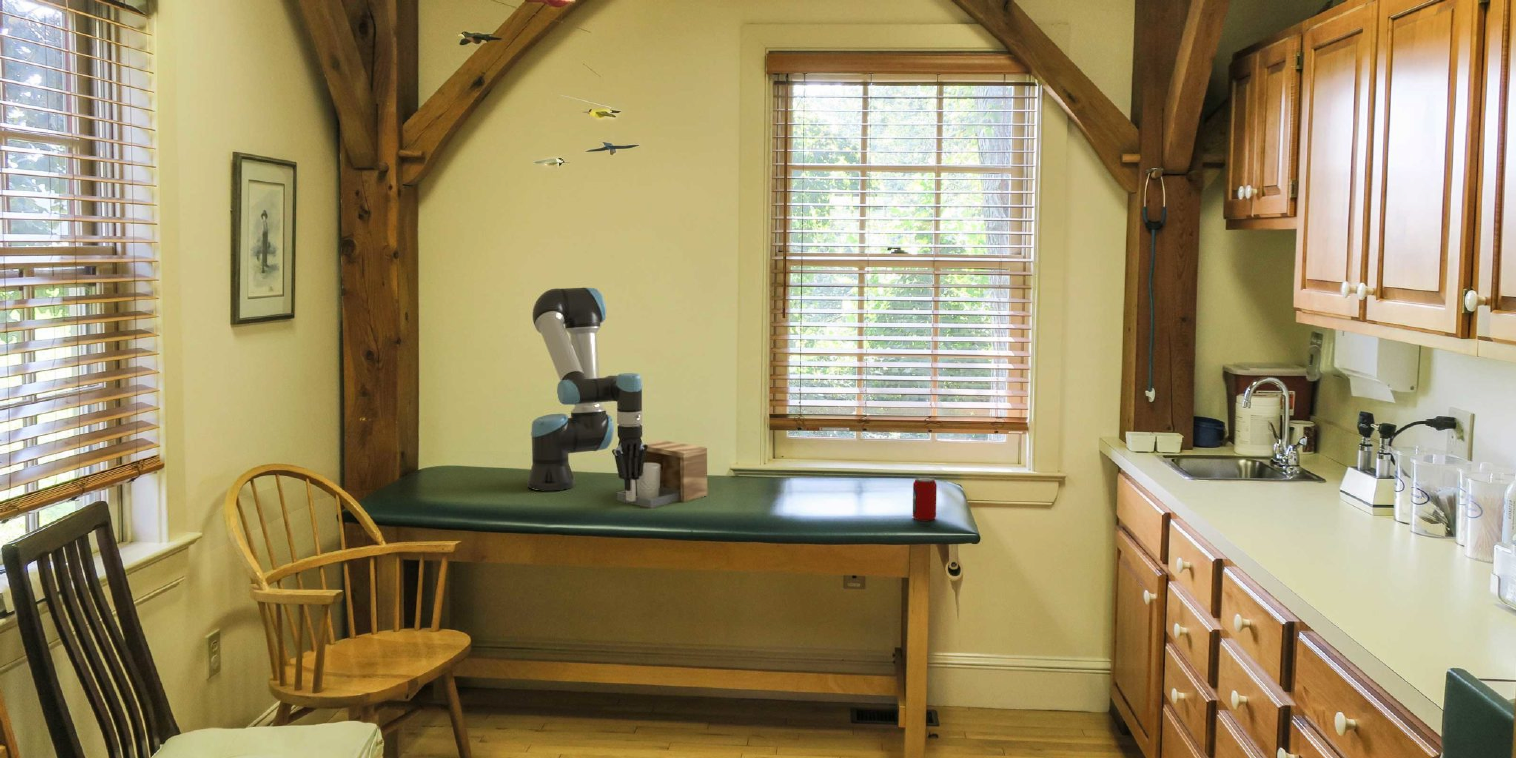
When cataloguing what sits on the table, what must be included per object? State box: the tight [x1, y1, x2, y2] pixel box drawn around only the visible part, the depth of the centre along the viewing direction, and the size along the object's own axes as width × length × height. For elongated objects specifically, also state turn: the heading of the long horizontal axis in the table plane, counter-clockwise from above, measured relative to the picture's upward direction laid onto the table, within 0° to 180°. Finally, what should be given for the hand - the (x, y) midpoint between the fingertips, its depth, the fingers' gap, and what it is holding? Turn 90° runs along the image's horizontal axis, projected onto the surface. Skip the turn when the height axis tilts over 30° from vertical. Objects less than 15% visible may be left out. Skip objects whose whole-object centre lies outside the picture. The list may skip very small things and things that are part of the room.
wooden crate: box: [644, 439, 708, 503], centre depth 367 cm, size 20×10×16 cm, turn 50°
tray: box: [616, 486, 681, 509], centre depth 360 cm, size 15×15×2 cm
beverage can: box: [912, 476, 938, 522], centre depth 336 cm, size 7×7×12 cm
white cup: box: [637, 463, 661, 499], centre depth 360 cm, size 8×8×10 cm
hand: (630, 500), depth 354 cm, fingers closed
